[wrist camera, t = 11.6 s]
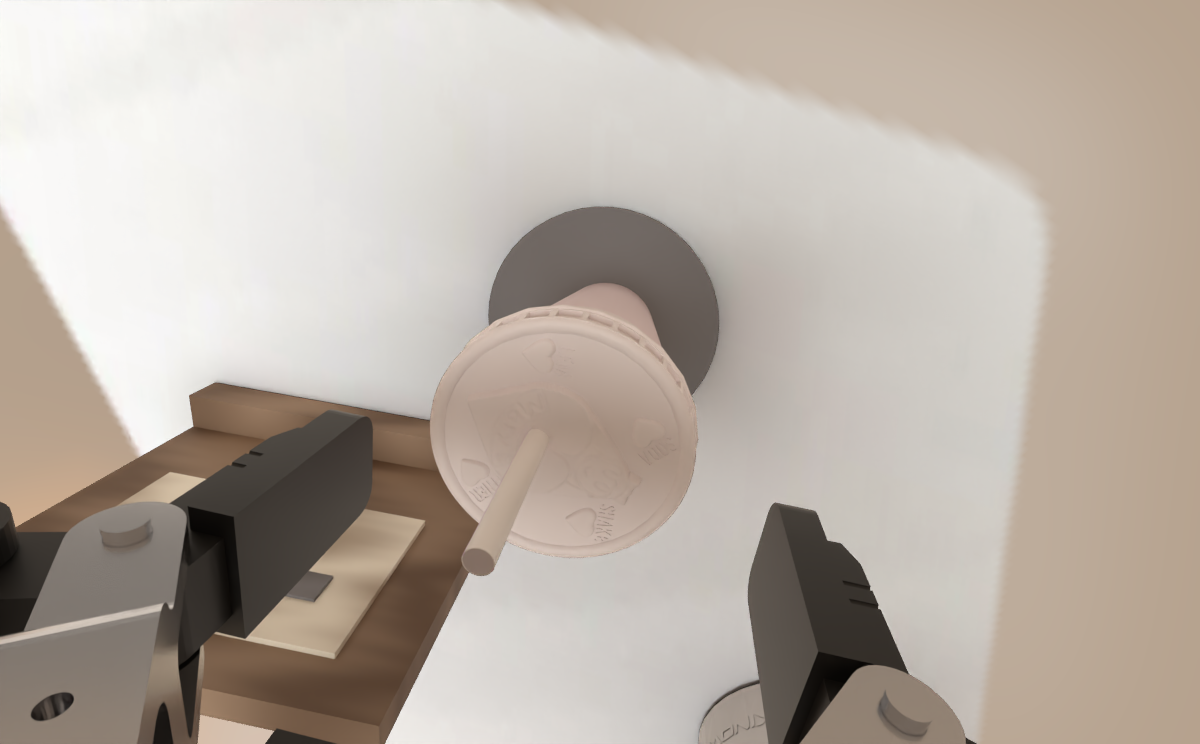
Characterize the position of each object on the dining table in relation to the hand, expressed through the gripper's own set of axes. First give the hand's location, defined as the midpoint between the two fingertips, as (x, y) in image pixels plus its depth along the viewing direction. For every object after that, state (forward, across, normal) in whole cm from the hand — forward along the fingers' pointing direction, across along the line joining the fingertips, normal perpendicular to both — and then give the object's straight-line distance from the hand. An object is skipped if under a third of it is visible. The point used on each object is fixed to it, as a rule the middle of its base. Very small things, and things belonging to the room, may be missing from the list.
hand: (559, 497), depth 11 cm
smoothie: (+12, +1, 0) cm, 12 cm away
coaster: (+12, +1, 0) cm, 12 cm away
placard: (+12, +11, +8) cm, 18 cm away
